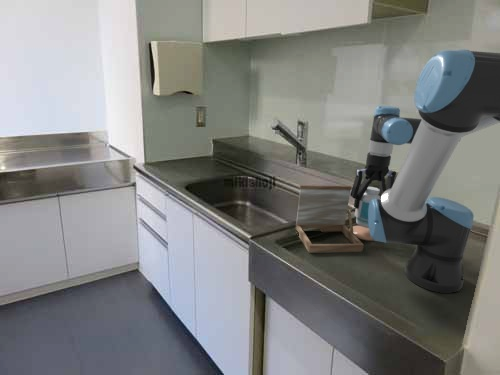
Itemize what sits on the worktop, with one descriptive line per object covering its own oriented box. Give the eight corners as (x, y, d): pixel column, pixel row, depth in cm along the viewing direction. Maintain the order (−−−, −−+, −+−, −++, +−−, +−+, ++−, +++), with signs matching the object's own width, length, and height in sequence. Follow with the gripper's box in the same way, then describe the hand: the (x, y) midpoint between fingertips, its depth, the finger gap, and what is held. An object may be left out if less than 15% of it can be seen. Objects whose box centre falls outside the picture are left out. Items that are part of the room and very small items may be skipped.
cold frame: (365, 252, 118) (375, 202, 113) (308, 253, 115) (315, 202, 109) (346, 230, 133) (353, 185, 128) (294, 230, 130) (299, 185, 124)
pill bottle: (378, 230, 126) (385, 193, 122) (356, 227, 127) (362, 190, 123) (375, 221, 133) (382, 186, 129) (354, 218, 134) (360, 184, 130)
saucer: (386, 240, 127) (386, 239, 127) (356, 240, 125) (357, 239, 125) (371, 227, 137) (372, 225, 137) (344, 227, 135) (344, 225, 135)
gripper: (401, 151, 127) (389, 212, 134) (346, 150, 124) (336, 212, 131) (413, 157, 120) (399, 220, 127) (355, 155, 117) (344, 221, 124)
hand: (367, 216), depth 129 cm, fingers closed on pill bottle, 7 cm apart
